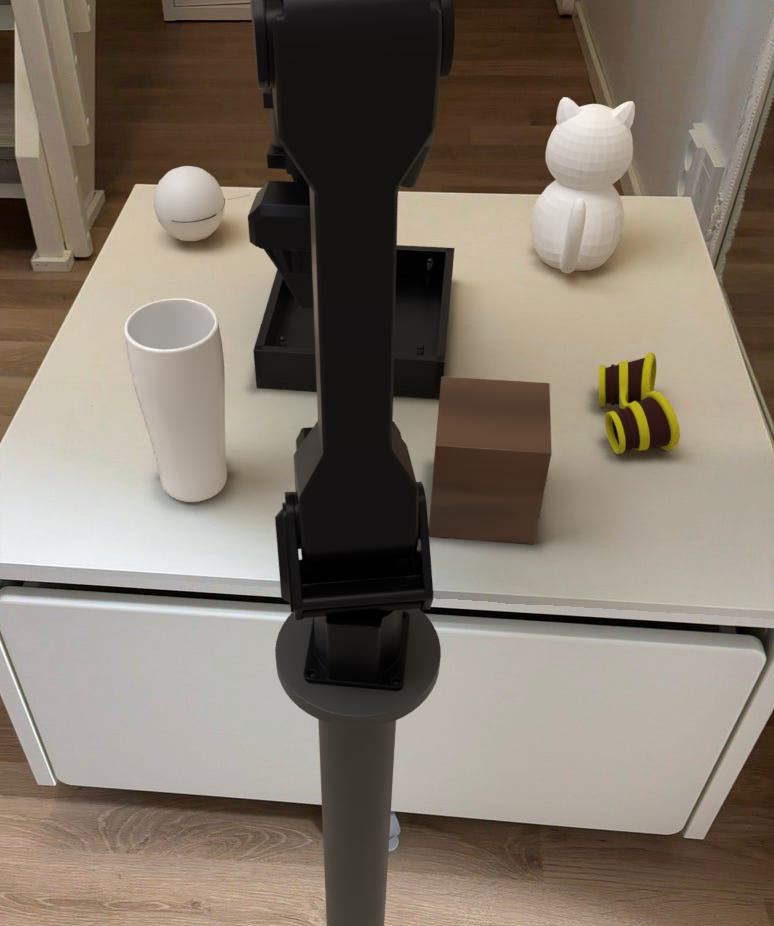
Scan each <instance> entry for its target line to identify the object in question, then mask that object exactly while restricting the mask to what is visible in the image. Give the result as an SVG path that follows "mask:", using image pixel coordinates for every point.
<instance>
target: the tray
mask: <svg viewBox="0 0 774 926" xmlns="http://www.w3.org/2000/svg"><path fill="white" fill-rule="evenodd" d="M454 258H455V247H446V246H445V247H444V246H443V247H442V246H424V245H406V244H405V245H402V244H401V245H400V244H397V255H396V299H395V342H394V386H393V398H411V399H425V400H426V399H428V400H439V396H440V385H441V377H445V368H446V356H447V345H448V333H449V319H450V307H451V296H452V285H453V271H454V261H455V259H454ZM252 351H253V362H254V375H255V386H256V389H268V390H269V389H270V390H285V391H300V392H315V393H317V381H316V354H315V327H314V308H313V309H308V308H301V307H300V306H299V304H298V303H297V301H296V299H295V298H294V296H293V294H292V293H291V291H290V289H289V288H288V286H287V284H286V283H285V281H284V279H283V278H282V276H281V274H280V273H279V271H278V269H277V268H276V272H275V275H274V279H273V283H272V285H271V290H270V292H269V296H268V299H267V303H266V305H265V309H264V313H263V317H262V319H261V323H260V326H259V329H258V334H257V337H256V340H255V343H254V347H253V350H252Z"/></svg>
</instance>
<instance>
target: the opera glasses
mask: <svg viewBox="0 0 774 926" xmlns="http://www.w3.org/2000/svg"><path fill="white" fill-rule="evenodd" d="M657 369H658V368H657V357H656V354H655V353H654V352H647V353H646V354H645V356H644V357H643V358H638V359H635V360H634V359H633V360H631V361H629V359H625V360H622V361H619V362H618V364H614V363H612V364H611V365H610V366H606V365H605V364H599V365H598V406H599V407H606V405H607V404H608V405H609V404H610V405H611V407H614V406H618V407H619V409H618V411H617V412H616V411H615V410H611V411H608V412H605V417H604V426H605V431H606V436H607V439H608V442H609V443H608V444H609V445H610V448H611V449H612V451H613V452H614V453H615V454H616V455H619V454H623V453H625V450H627V451H628V452H631V451H633V450H635V451H639V452H640V451H647V450H649V448H660V449H662V450H664V451H671V450H673V449H675V448H676V447H677V446H678V444H679V442H680V438H681V429H680V424H679V421H678V417H677V415H676V412H675V411H674V408H673V406H672V404H671V403H670V401H669V400H668V399H667V398H666V396H664V395H663V394H662V393H661V392H659V391H657V390H655V386H656V379H657Z"/></svg>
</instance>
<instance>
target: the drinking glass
mask: <svg viewBox="0 0 774 926" xmlns="http://www.w3.org/2000/svg"><path fill="white" fill-rule="evenodd" d="M123 327H124V328H123V333H124V341H125V349H126V356H127V361H128V367H129V372H130V375H131V380H132V384H133V387H134V392H135V394H136V398H137V401H138V405H139V408H140V411H141V414H142V418H143V420H144V423H145V427H146V430H147V435H148V438H149V442H150V444H151V448H152V451H153V455H154V459H155V462H156V465H157V469H158V475H159V480H160V484H161V486H162V489H163V490H164V491H165V493H166V494H167V495H168V496H169V497H171V498H173V499H175V500H177V501H181V502H185V503H197V502H198V503H199V502H202V501H207V500H209V499H211V498H213V497H215V496H217V495H218V494H219V493H220V492H221V491H222V490H223V489H224V487H225V486H226V483H227V479H228V467H227V458H226V457H227V456H226V455H227V454H226V374H225V373H226V372H225V357H224V348H223V341H222V334H221V329H220V321H219V318H218V315H217V314H216V312H215V311H214V309H212V308H211V307H210V306H209V305H207V304H205V303H203V302H201V301H198V300H196V299H191V298H182V297H171V298H162V299H158V300H155V301H151V302H149V303H146V304H143V305H142V306H140V307H138V308H137V309H135V310H134V311H133V312H132V313H131V314H130V315H129V316H128V317H127V319H126V320H125V323H124V326H123Z"/></svg>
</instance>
